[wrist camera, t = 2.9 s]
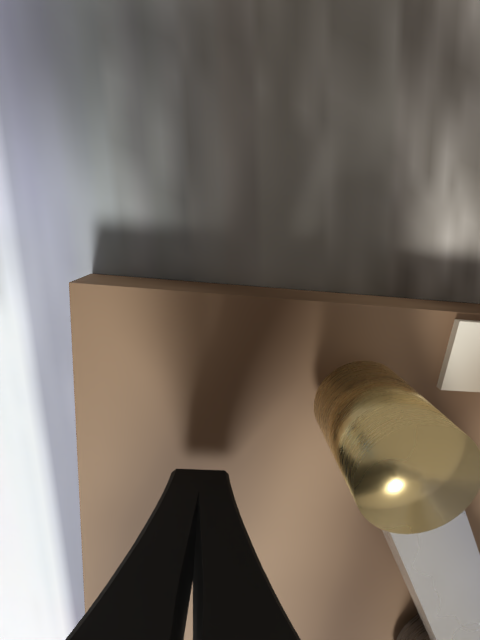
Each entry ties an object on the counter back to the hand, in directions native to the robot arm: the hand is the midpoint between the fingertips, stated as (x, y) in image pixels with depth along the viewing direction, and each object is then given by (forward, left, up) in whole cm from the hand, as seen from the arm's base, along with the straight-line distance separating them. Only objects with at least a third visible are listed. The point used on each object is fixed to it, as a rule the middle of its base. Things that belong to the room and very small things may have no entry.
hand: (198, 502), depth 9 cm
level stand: (-7, +4, -3) cm, 8 cm away
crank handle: (-8, +4, -1) cm, 9 cm away
